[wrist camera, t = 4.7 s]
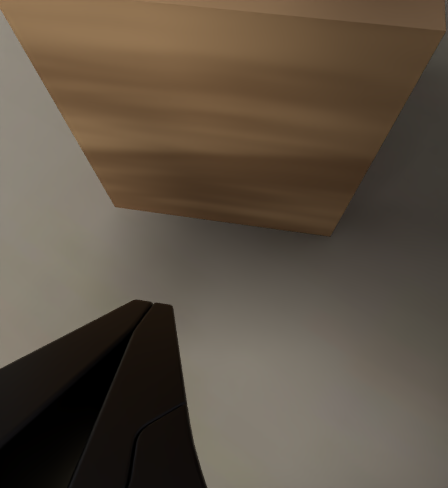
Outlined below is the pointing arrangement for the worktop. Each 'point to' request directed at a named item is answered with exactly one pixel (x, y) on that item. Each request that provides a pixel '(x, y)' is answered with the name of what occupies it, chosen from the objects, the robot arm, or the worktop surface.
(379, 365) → the worktop surface
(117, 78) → the domino
